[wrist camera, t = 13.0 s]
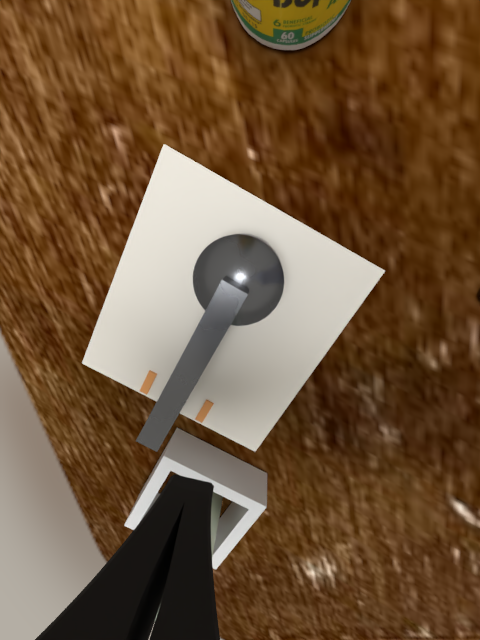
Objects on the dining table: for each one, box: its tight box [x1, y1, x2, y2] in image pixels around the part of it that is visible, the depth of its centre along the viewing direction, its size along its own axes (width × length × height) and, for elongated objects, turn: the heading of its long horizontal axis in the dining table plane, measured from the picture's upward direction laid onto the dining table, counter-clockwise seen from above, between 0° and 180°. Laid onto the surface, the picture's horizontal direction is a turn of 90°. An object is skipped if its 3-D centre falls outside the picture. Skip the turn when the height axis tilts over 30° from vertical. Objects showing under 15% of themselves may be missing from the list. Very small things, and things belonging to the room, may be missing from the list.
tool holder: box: [124, 428, 267, 569], centre depth 19 cm, size 7×7×2 cm
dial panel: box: [82, 144, 385, 451], centre depth 16 cm, size 13×12×1 cm
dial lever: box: [136, 233, 284, 452], centre depth 14 cm, size 12×4×3 cm, turn 151°
